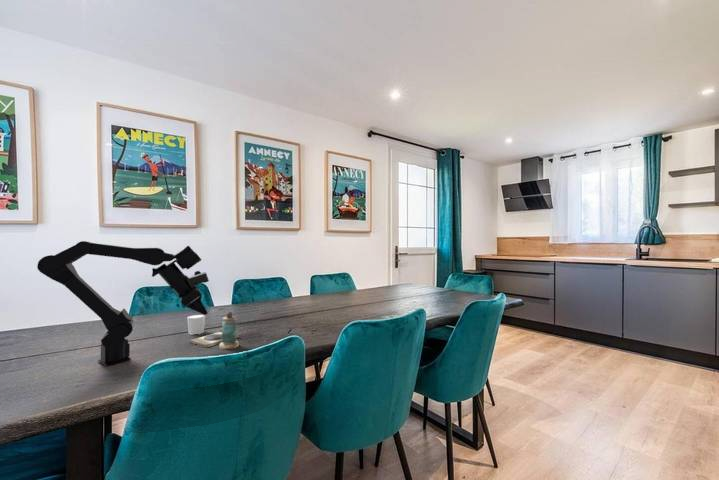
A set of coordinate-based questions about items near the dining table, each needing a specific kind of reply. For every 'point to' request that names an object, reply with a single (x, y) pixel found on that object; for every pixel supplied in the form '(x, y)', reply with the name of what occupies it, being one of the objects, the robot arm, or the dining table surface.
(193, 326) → the white rounded piece
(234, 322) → the bobbin
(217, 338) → the notched board
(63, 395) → the dining table surface
